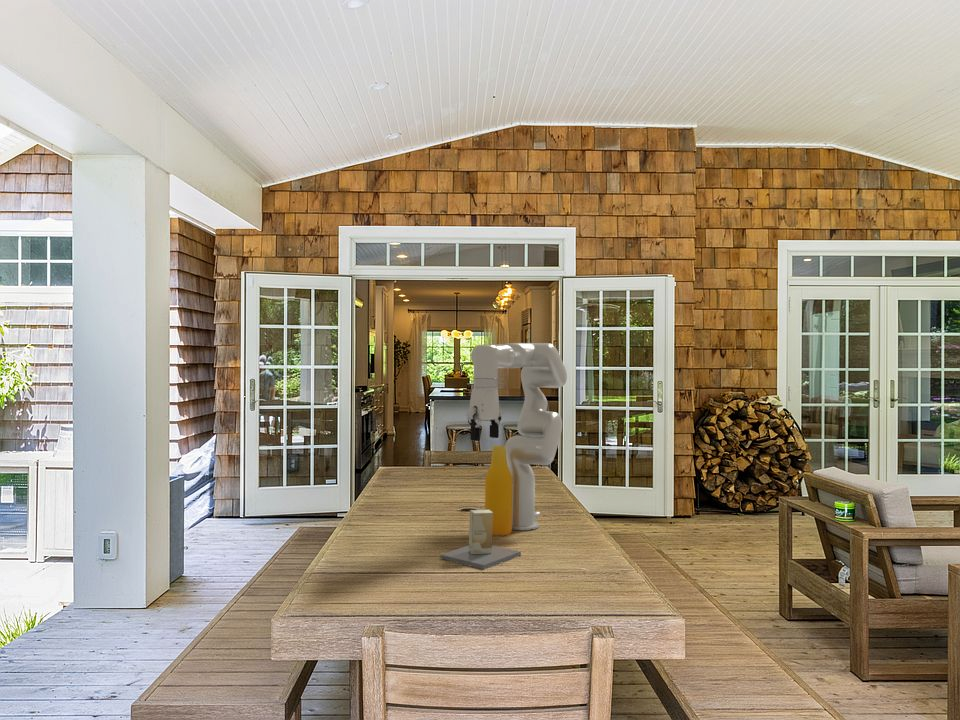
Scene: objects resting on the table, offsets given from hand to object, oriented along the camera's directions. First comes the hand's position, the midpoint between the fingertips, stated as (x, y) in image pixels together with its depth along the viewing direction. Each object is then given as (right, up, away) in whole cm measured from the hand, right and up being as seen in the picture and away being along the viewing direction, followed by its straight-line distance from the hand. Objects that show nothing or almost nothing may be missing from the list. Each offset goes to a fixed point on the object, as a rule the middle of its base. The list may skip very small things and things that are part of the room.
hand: (484, 438), depth 220 cm
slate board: (-1, -33, -13) cm, 36 cm away
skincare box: (-1, -32, -13) cm, 35 cm away
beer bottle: (+5, -34, +16) cm, 38 cm away
